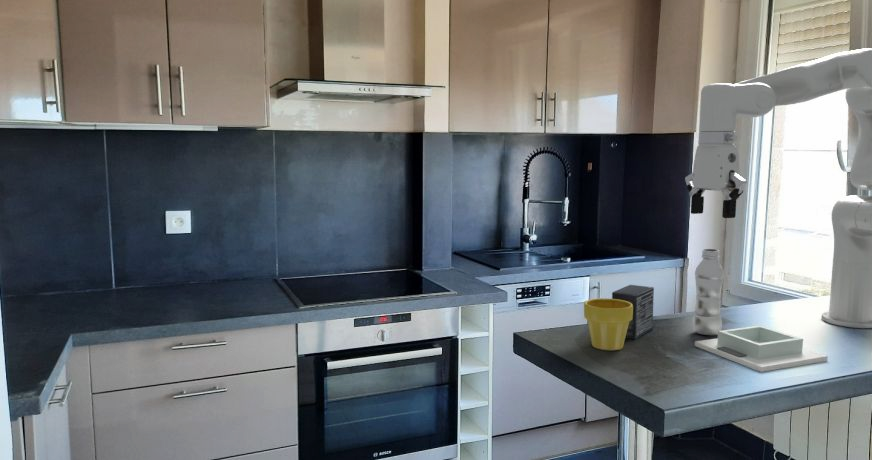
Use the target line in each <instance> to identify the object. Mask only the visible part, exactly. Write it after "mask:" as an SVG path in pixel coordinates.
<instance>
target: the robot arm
mask: <svg viewBox="0 0 872 460" xmlns="http://www.w3.org/2000/svg"><path fill="white" fill-rule="evenodd" d="M842 90H845V101H846V104H847V106H848V108H849V109H850V110H851V111H852V113H853V114H854V116H855V117H856V120H857V122H858V125H859V136H858V140H857V145H856V149H855V152H854V155H853V159H852V163H851V167H850V171H849V180H850V181H849V182H850V183H851V185H852V186H853V187H855V188H856V189H857V190H858V189H859V190H863V191H870V192H872V48H869V47H868V48H861V49H855V50H850V51H842V52H838V53H837V52H836V53H834V54H830V55H827V56H824V57H820V58H818V59H817V58H816V59H815V60H811V61H807V62H805V63H800V64H797V65H795V66H791V67H788V68H784V69H780V70H778V71H775V72H771V73H768V74H764V75H761V76H756V77H754V78H753V77H752V78H749V79H747V80H743V81H740V82H737V83H734V84H732V83H710V84H706V85H704V86H703V87H702V88H701V90H700V104H699V124H698V125H699V127H698V144H697V146H696V149H695V154H694V160H693V168H692V169H693V170H692V172H691V173H690V174H688V175H687V176H685V178H684V181H685V183H686V189H687V191H688V194H689V197H691V199H690V214H691V215H692V214H693V215H694V214H695V215H696V214H697V215H698V214H699V215H700V214H703V213H704V203H705V202H704V201H705V196H704V193H705V191H714V192H715V191H717V192H718V191H719V192H721V193H722V195H723V197H724V198H725V199H723V201H722V212H721V213H722V218H724V219H735V218H736V215H737V214H736V212H737V201H738V200H740V196H742V194H743V193H744V189H745V187H746V185H747V184H748V183H747V180H746V179H745V178H743V177H742V176H740V175H741V173H740V170H741V169H740V157H739V149H738V146H735V141H736V140H737V139H738V138H737V137H738V136H737V135H736V123H737V119H742V118H743V119H745V118H758V117H762V116H765V115H767V114H769V113H770V112H771V111H772V110H773V109H774V107H778V106H789V105H796V104H800V103H805V102H808V101H812V100H814V99H815V100H816V99H817V98H820V97H823V96H826V95H829V94H833V93H836V92H839V91H842ZM831 223H832V224H831V225H832V230H833V256H832V257H833V258H832V267H831V281H830V282H831V283H830V293H829V304H828V305H829V307H828V311H825V312H822V313H821V320H822V321H824V322H826V323H828V324H832V325H834V326H835V325H836V326H839V327H846V328H853V329H872V195H862V194H861V195H860V194H854V195H853V194H852V195H846V196H844V197H842V198H840V199H839V200H838V201H836V202H835V204H834V205H833V207H832V210H831Z"/></svg>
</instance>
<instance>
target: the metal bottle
mask: <svg viewBox="0 0 872 460" xmlns="http://www.w3.org/2000/svg"><path fill="white" fill-rule="evenodd" d="M701 252H702V255H701V258H702V260H701V261H700V262H699V263H698V264H697V266H696V268H695V271H694V276H695V277H694V278H695V287H696V288H695V289H696V291H695V292H696V293H695V294H696V297H695V298H696V299H695V306H694V307H695V309H694V313H693V315H692V316H693V317H692V321H691V323H692V324H691V325H692V329H693V330H694V332H695V333H697V334H700V335H703V336H718V331H722V327H723V320H722V316H721V314H722V313H721V309H722V308H721V299H722V298H721V296H722V289H723V284H724V278H725V271H724V268H723V266H722V264H721V263H720V261H719V259H720V250H719V249H716V248H704V249H702V251H701Z"/></svg>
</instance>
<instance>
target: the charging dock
mask: <svg viewBox="0 0 872 460" xmlns="http://www.w3.org/2000/svg"><path fill="white" fill-rule="evenodd" d="M803 343H804V338H801V337H798V336H795V335H793V334H792V335H791V334H788V333H786V332H782V331H779V330H776V329H773V328H769V327H766V326H762V325H752V326H747V327H746V326H745V327H738V328H731V329H730V328H729V329H723V330H722V329H721V331H718V334H717V338H711V339H703V340H695V341H694V347H695V348H696V347H697V348H699V349H701V350H703V351H704V350H705V351H707V352H710V353H711V354H714V355H717V356H719V357H722V358H724V359H727V360H730V361H732V362H735V363H738V364H740V365H742V366H745V367H747V368H749V369H753V370H755V371H757V372H761V373H762V372H768V371H774V370H781V369H787V368H792V367H797V366H798V367H799V366H803V365H804V366H805V365H810V364H811V365H812V364H816V363H817V364H818V363H823V362H827V361H828V359H829V357H828V355H825V354H822V353H820V352H816V351H813V350H811V349H807V348H804V347H803Z"/></svg>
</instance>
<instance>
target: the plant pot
mask: <svg viewBox="0 0 872 460" xmlns="http://www.w3.org/2000/svg"><path fill="white" fill-rule="evenodd" d="M583 316H584V318H585V319H586V320H587V325H588V326H587V327H588V331H589V336H590V341H591V346H592V347H593V348H595V349H597V350H602V351H619V350H622V349H623V347H624V344H625V340H626V338H625V336H626V332H627V328H628V325H629V321H631V320H632V317H633V305H632V303H630V302H628V301H624V300H618V299H612V298H603V297H602V298H599V297H598V298H591V299H588V300H585V301H584V303H583Z"/></svg>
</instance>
